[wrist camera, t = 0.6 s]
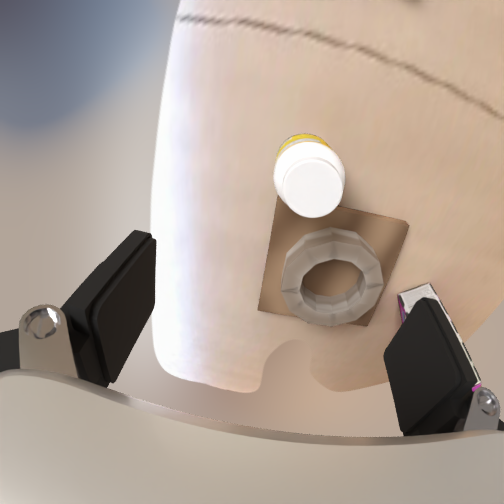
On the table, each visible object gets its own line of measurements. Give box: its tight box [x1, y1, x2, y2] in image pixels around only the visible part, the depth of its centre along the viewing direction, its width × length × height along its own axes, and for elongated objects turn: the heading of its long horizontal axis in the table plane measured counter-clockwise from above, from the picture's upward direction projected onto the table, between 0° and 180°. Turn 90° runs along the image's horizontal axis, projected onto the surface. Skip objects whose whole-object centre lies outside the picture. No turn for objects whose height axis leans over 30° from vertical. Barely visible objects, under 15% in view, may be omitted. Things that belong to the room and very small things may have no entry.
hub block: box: [258, 195, 409, 327], centre depth 30 cm, size 14×14×4 cm
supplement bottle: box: [274, 133, 345, 218], centre depth 23 cm, size 5×5×10 cm
